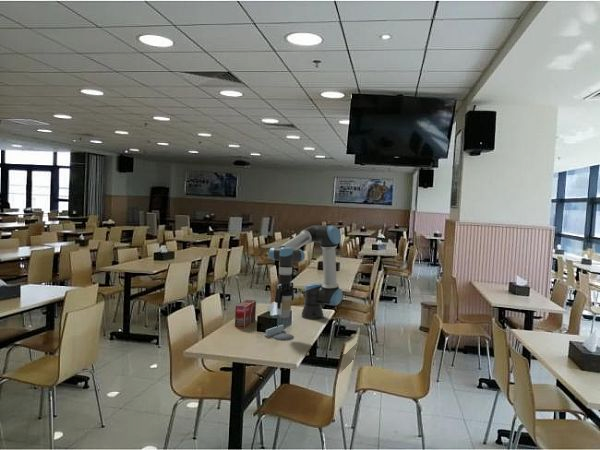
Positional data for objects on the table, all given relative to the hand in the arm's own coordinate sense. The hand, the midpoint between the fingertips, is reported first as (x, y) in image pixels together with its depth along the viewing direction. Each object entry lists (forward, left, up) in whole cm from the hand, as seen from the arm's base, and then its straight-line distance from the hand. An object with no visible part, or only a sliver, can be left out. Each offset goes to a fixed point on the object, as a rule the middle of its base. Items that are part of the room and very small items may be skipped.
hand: (284, 312), depth 274 cm
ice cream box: (-8, -37, -15) cm, 41 cm away
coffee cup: (0, 0, -2) cm, 2 cm away
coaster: (0, 0, -15) cm, 15 cm away
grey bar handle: (-2, -8, -15) cm, 17 cm away
